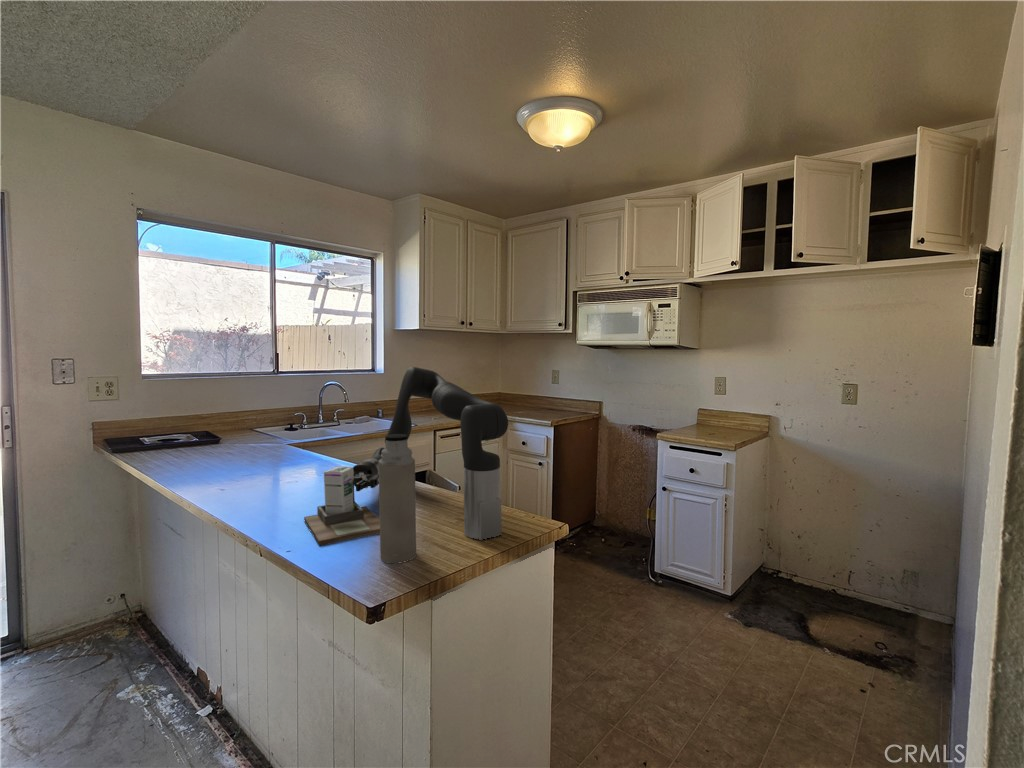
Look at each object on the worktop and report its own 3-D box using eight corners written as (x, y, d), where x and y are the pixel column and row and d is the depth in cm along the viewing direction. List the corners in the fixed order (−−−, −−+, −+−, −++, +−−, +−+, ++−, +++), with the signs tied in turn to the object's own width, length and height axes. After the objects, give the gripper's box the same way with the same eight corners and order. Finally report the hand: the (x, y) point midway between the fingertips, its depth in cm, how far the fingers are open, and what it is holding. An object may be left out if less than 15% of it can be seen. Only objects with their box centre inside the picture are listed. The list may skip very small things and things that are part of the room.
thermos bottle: (384, 549, 116) (382, 432, 114) (418, 548, 116) (417, 431, 114) (376, 564, 108) (374, 438, 106) (413, 563, 108) (411, 438, 106)
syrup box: (344, 525, 132) (343, 472, 131) (324, 523, 133) (323, 470, 132) (355, 518, 137) (354, 466, 136) (336, 516, 139) (335, 465, 138)
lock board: (388, 531, 127) (388, 518, 127) (319, 545, 118) (319, 531, 118) (366, 510, 144) (365, 498, 144) (304, 521, 135) (303, 508, 135)
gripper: (345, 460, 153) (318, 473, 137) (389, 461, 151) (366, 474, 135) (345, 483, 153) (318, 499, 137) (389, 485, 151) (367, 501, 135)
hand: (342, 487), depth 136 cm, fingers open, 8 cm apart
